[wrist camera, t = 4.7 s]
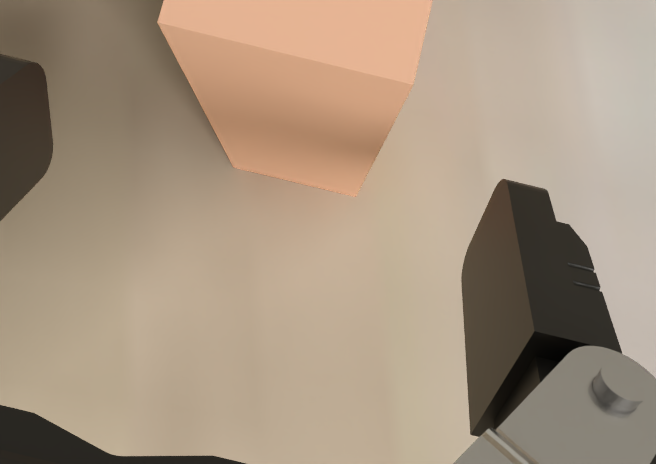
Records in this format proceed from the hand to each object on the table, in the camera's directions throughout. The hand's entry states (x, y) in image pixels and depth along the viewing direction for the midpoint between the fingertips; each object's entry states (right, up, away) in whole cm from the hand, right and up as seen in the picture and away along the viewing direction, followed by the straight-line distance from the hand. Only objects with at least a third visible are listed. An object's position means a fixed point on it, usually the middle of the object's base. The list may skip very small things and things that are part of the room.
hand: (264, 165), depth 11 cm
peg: (+1, +2, +9) cm, 9 cm away
